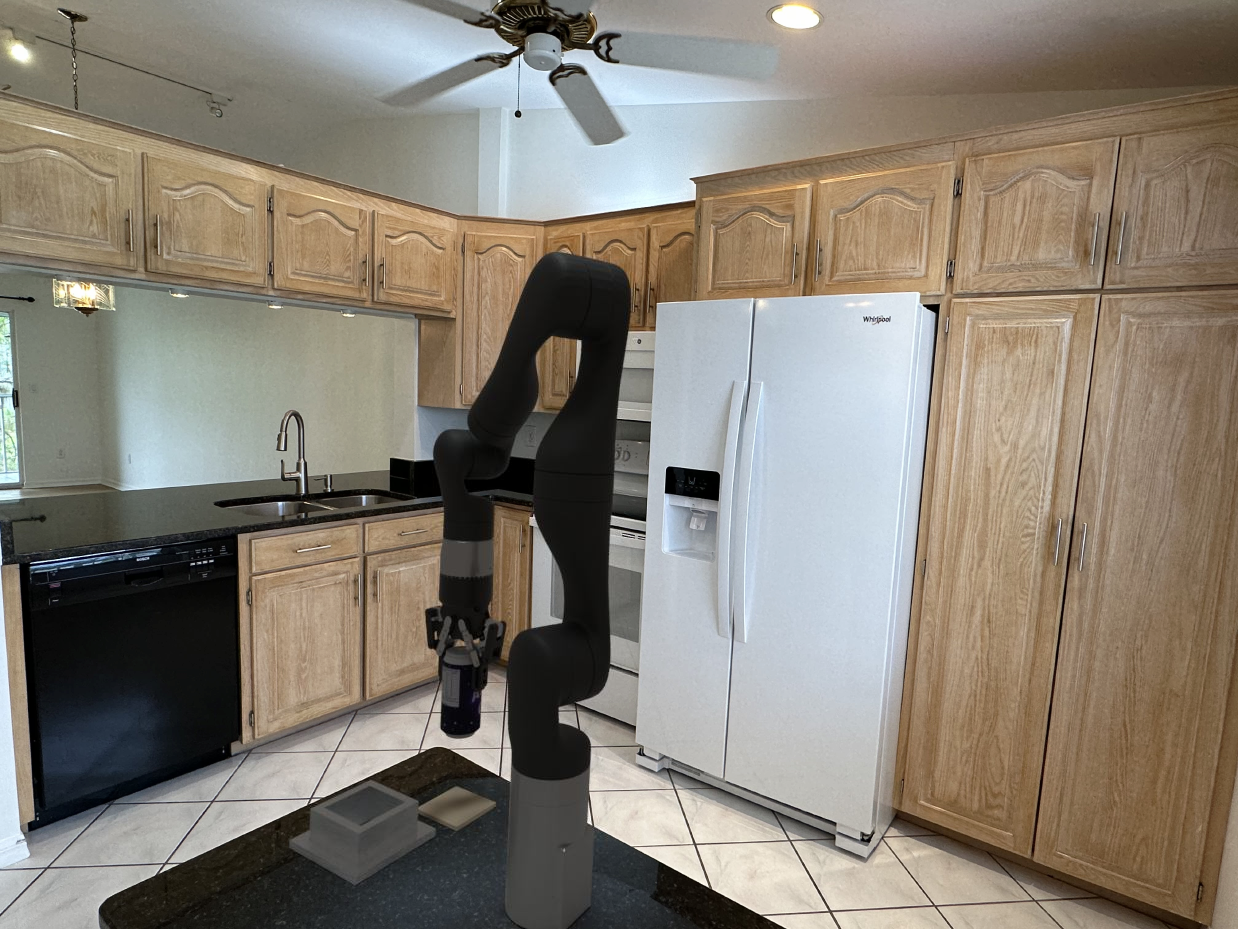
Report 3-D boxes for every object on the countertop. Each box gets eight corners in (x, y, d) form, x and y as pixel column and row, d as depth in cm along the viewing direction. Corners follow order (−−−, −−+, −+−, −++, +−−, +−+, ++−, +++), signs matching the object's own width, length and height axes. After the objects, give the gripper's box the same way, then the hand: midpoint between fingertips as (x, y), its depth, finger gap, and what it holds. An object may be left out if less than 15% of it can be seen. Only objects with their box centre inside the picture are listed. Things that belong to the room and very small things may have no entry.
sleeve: (435, 836, 96) (436, 800, 96) (355, 885, 85) (356, 845, 85) (371, 805, 103) (372, 771, 103) (289, 847, 92) (290, 810, 92)
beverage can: (475, 742, 100) (478, 658, 99) (435, 740, 100) (438, 656, 99) (483, 725, 105) (487, 646, 105) (445, 723, 105) (448, 643, 105)
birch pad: (495, 806, 104) (496, 802, 104) (456, 831, 98) (457, 827, 98) (456, 790, 109) (456, 786, 109) (416, 812, 102) (416, 808, 102)
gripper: (522, 573, 101) (517, 689, 102) (449, 559, 108) (444, 667, 109) (486, 581, 94) (481, 705, 95) (411, 565, 102) (406, 681, 103)
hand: (461, 684), depth 102 cm, fingers closed on beverage can, 5 cm apart
